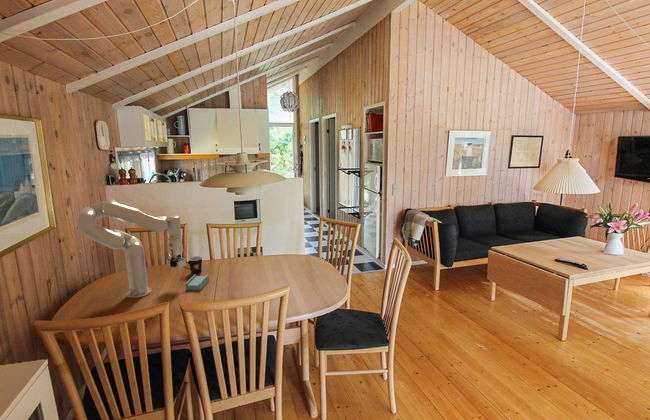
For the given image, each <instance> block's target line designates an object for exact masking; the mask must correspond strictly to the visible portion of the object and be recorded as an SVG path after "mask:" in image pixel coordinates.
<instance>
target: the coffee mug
mask: <svg viewBox="0 0 650 420" xmlns="http://www.w3.org/2000/svg"><path fill="white" fill-rule="evenodd" d="M186 263H187V264H188V265H189V268H188V267H186V265H185V266H183V268H185V269H188V270H190V272H191V274H192V275H200V274H201V273H202V267H203V266H202V265H203V257H202V256H201V255H200V256H199V255H197V256H191V257H188V261H186Z"/></svg>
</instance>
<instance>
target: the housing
mask: <svg viewBox="0 0 650 420" xmlns="http://www.w3.org/2000/svg"><path fill="white" fill-rule="evenodd" d="M173 258H174V257H173ZM175 260H176V267H172V268H175V269H180V268H184V266H185V267H186V265H187V264H186V263H187V261H186V258H184V257H182V256H181V257H177V256H176V257H175ZM165 262H166V267H168V268H171V267H170V259H169V257H168V258H167V259H166V261H165Z"/></svg>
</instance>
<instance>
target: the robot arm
mask: <svg viewBox="0 0 650 420" xmlns="http://www.w3.org/2000/svg"><path fill="white" fill-rule="evenodd" d="M105 217H109V218H112V219H116V220H118V221H122V222H126V223H129V224H132V225H135V226H138V227H140V228H142V229H146V230H150V231H153V232H157V233H164V232H166V235H167V240H168V242H167V243H168V244H167V248H168V251H167V252H168V258H169V259H170V267H169V268H173V267H176V260H175V257H176V256H177V257H182V255H183V254H182V253H183V252H184V246H183V240H182V231H181V230H182V229H181V227H182V226H181V218H180V216H179V215H169V216H163V215H158V216H155V217H154V216H152V215H149V214H146V213H144V212H143V211H141V210H140V209H138V208H135V207H131V206H128V205H125V204H121V203H119V202H117V200H115V199H112V198H111V199H110V198H109V199H105V200H103V201H100V202H96V203H94V204H91V205H88V206H86V207H84V208H82V209H81V210H79V212H78V214H77V221H76V224H77V229H78V231H79V233H80V234H81V235H83V236H84V237H85V238H87V239H89V240H91V241H94V242H96V243H98V244H100V245H101V246H104V247H106V248H109V249H111V250H119V249H120V250H123V251H124V257H125V258H124V259H125V264H126V271H127V280H128V285H129V286H128V287H129V291H128V292H127V293H126V295H125V297H126V298H131V299H138V298H142V297H145V296H148V295H150V294H151V293H152V288H151V287H149V285H148V277H147V276H148V275H147V269H146V267H147V266H146V259H145V248H144V244H143V243H142V241H141V240H140V239H139V238H137V237H135V236H133V235H131V234H129V233H127V232H126V231H122V230H121V229H115V228H114V229H108V228H107V227H104V226H102V225H99V224H98V223H97V220H99V219H102V218H105ZM173 257H174V258H173Z"/></svg>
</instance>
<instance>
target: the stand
mask: <svg viewBox="0 0 650 420" xmlns="http://www.w3.org/2000/svg"><path fill="white" fill-rule="evenodd" d="M192 275H193V276H191V277H190V278H189V280H187V282H186V283H185V284H184V285H185V290H186V291H202V290H203V288H204V287H205V286H206V285H207V284H208V283H209V280H210V279H209V274H206V275H197V274H192Z"/></svg>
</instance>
